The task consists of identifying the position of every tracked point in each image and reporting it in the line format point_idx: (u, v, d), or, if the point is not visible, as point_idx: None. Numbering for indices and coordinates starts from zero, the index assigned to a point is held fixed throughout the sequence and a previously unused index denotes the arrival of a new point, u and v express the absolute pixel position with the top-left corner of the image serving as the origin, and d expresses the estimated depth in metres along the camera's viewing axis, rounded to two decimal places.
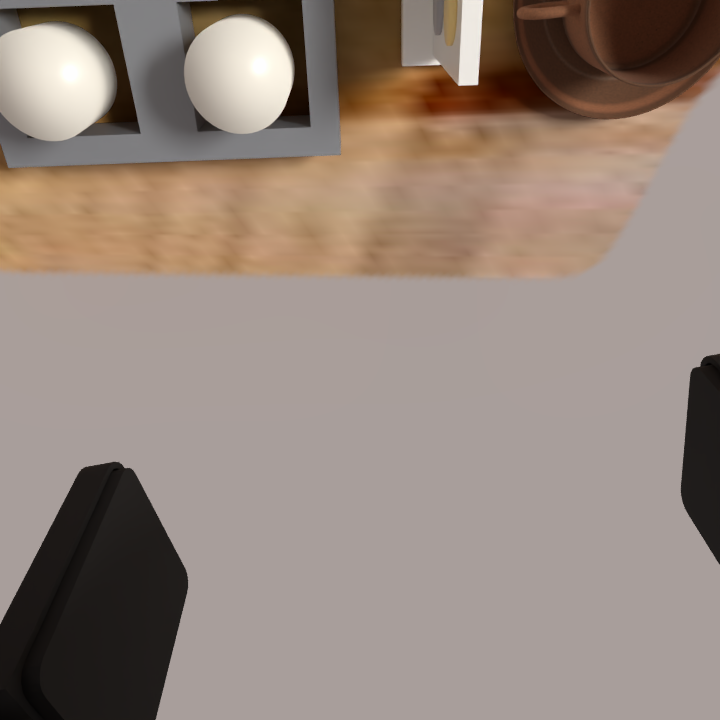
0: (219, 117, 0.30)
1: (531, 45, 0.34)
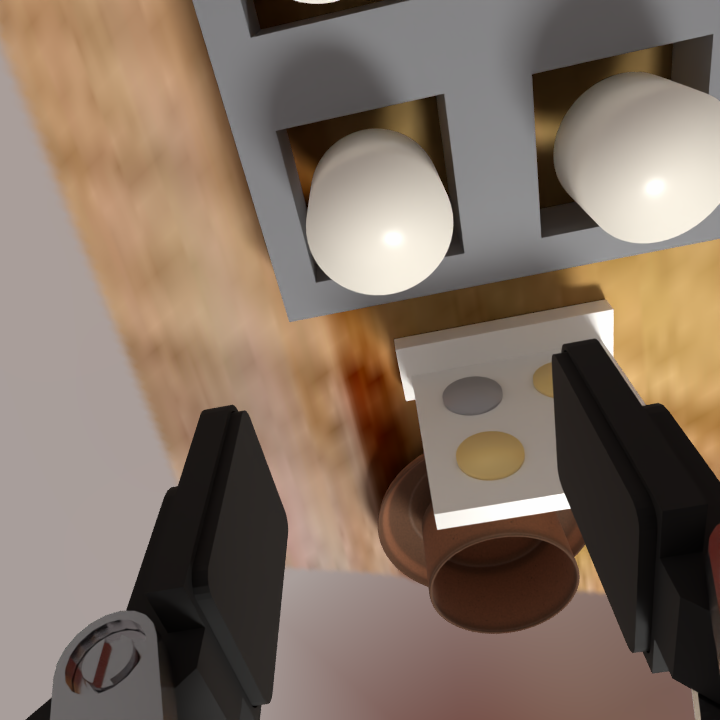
0: (324, 207, 0.20)
1: None
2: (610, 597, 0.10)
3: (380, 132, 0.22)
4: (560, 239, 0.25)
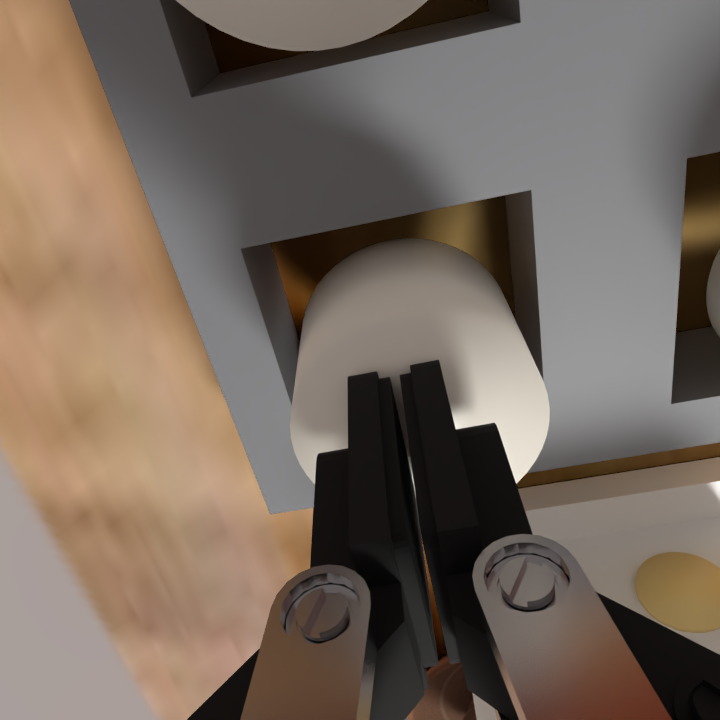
0: (321, 398, 0.11)
1: None
2: None
3: (418, 249, 0.13)
4: (701, 406, 0.16)
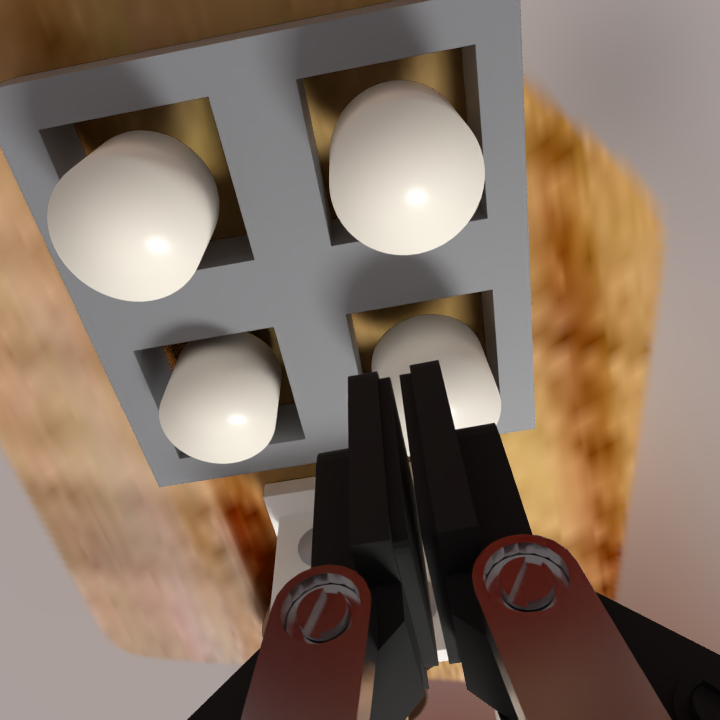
0: (172, 405, 0.26)
1: None
2: None
3: (226, 335, 0.28)
4: None
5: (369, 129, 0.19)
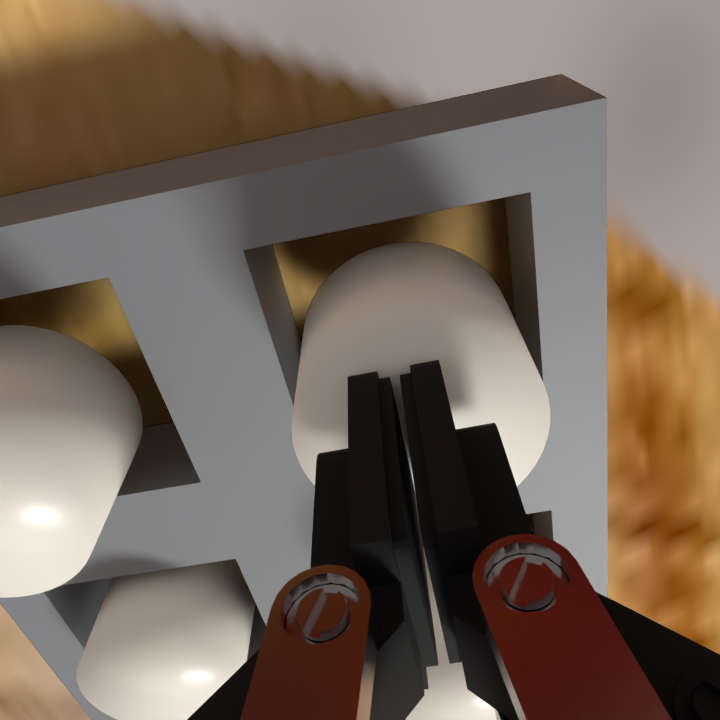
0: (94, 671, 0.18)
1: None
2: None
3: None
4: None
5: (354, 363, 0.11)
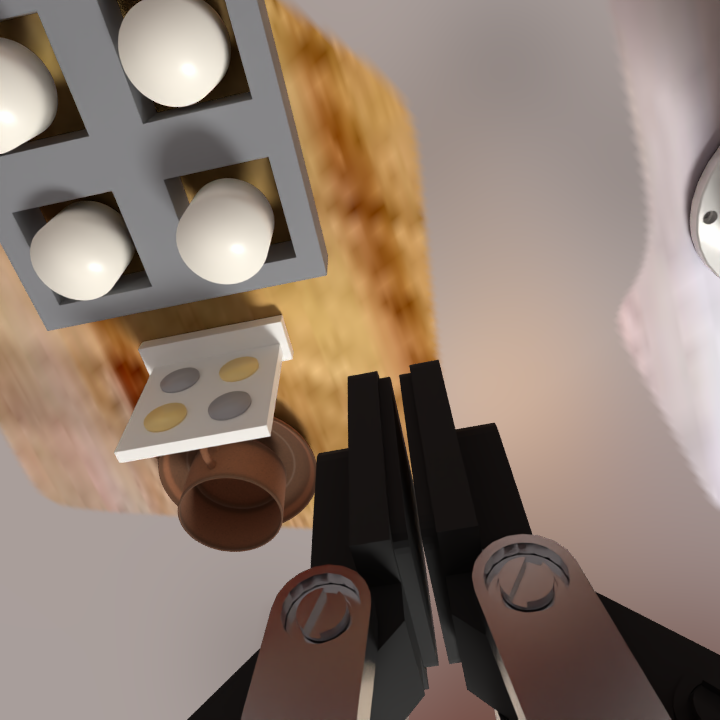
0: (39, 250, 0.36)
1: None
2: None
3: (84, 204, 0.37)
4: None
5: (138, 17, 0.30)
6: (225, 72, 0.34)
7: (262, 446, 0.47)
